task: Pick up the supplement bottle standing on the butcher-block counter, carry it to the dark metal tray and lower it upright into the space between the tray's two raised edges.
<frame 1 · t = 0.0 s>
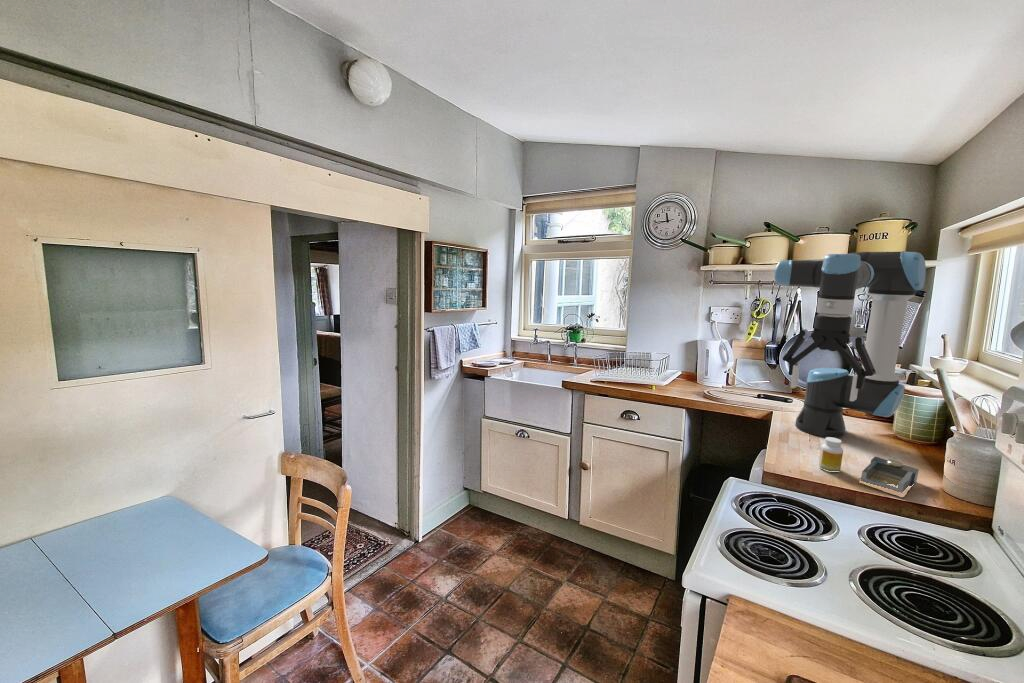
hand: (822, 393, 116), 28 cm above the table, fingers open, 13 cm apart
tray: (887, 482, 125), on the table
supplement bottle: (828, 469, 133), on the table
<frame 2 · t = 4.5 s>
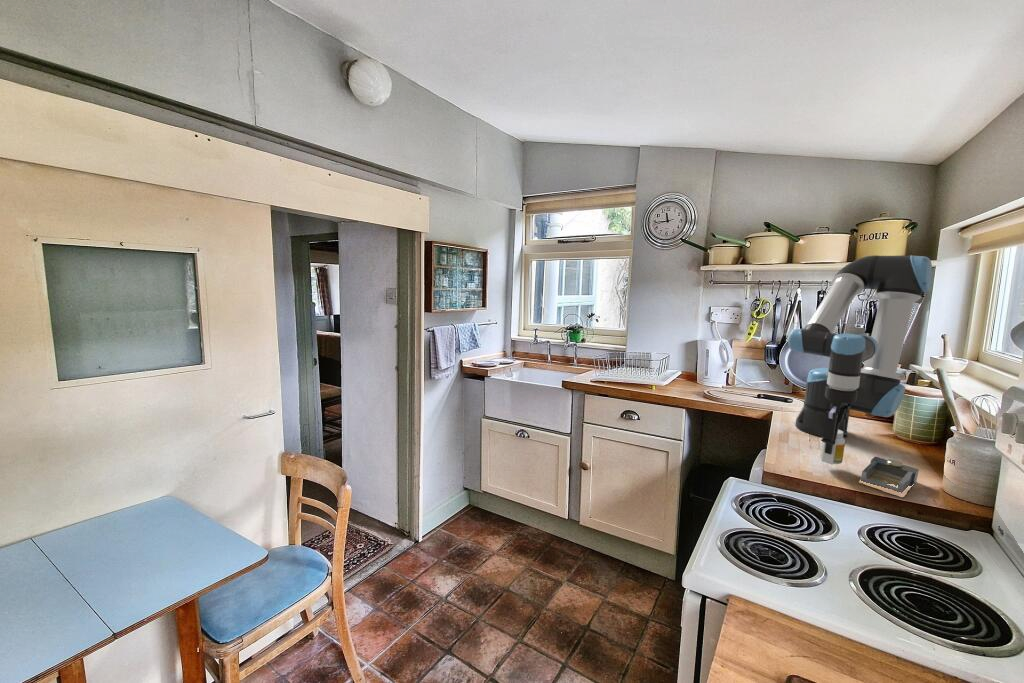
hand: (831, 459, 132), 3 cm above the table, fingers closed on supplement bottle, 5 cm apart
supplement bottle: (831, 460, 133), point 3 cm above the table, touching gripper
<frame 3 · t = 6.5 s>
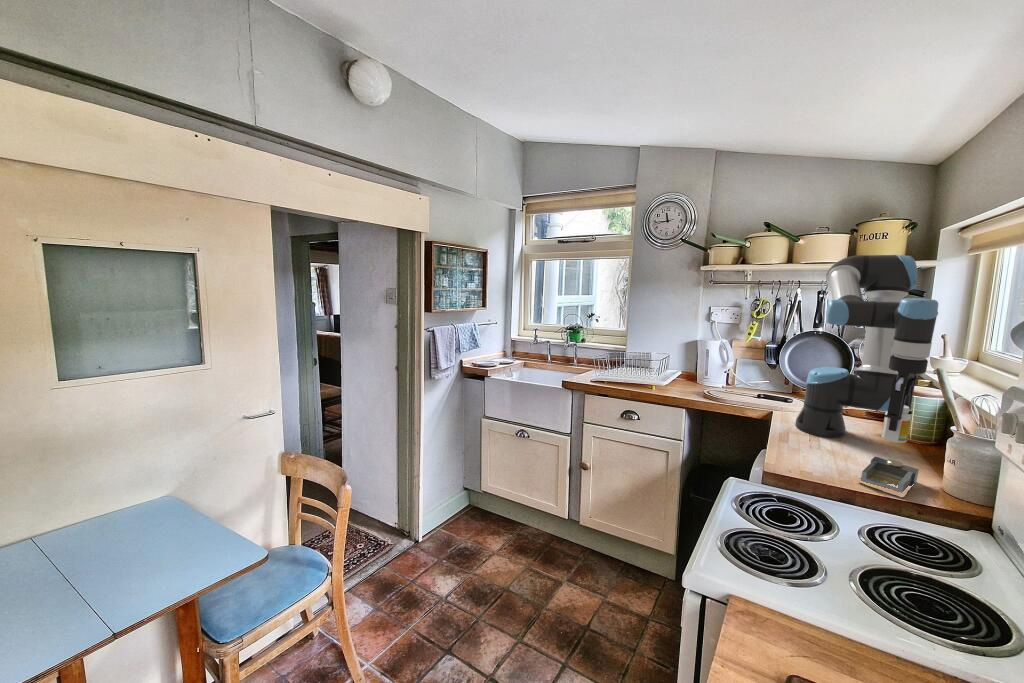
hand: (894, 438, 120), 14 cm above the table, fingers closed on supplement bottle, 5 cm apart
supplement bottle: (893, 439, 121), point 14 cm above the table, touching gripper
when the fingers open (2 cm above the table, at t = 8.9 s): supplement bottle stays where it is, resting on tray.
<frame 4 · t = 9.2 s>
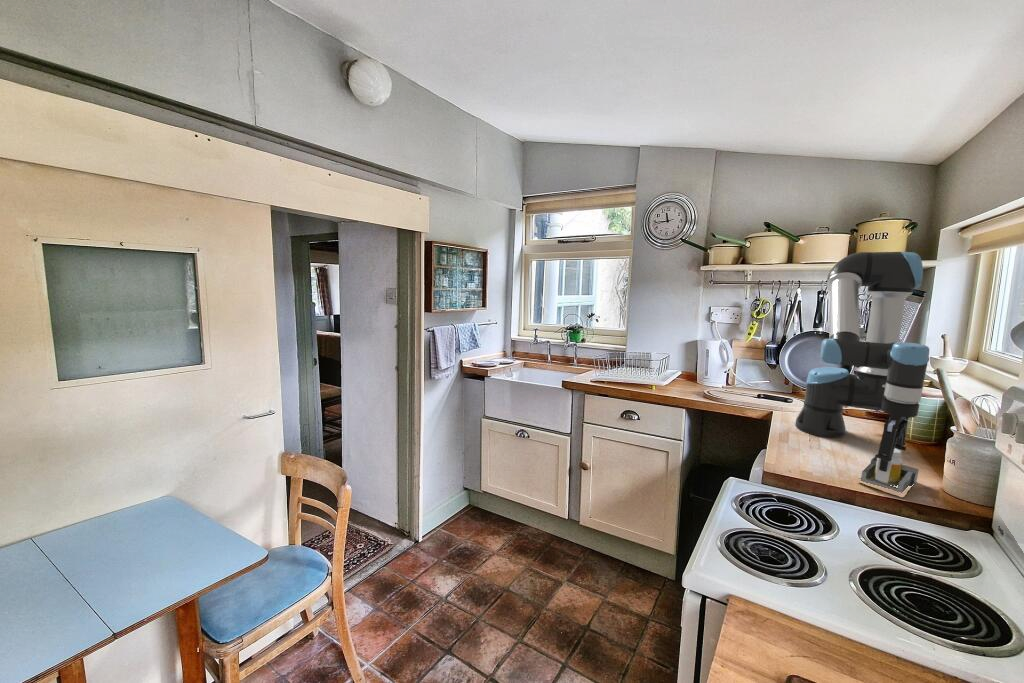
hand: (886, 475, 123), 3 cm above the table, fingers open, 9 cm apart
supplement bottle: (885, 481, 124), point 1 cm above the table, touching tray
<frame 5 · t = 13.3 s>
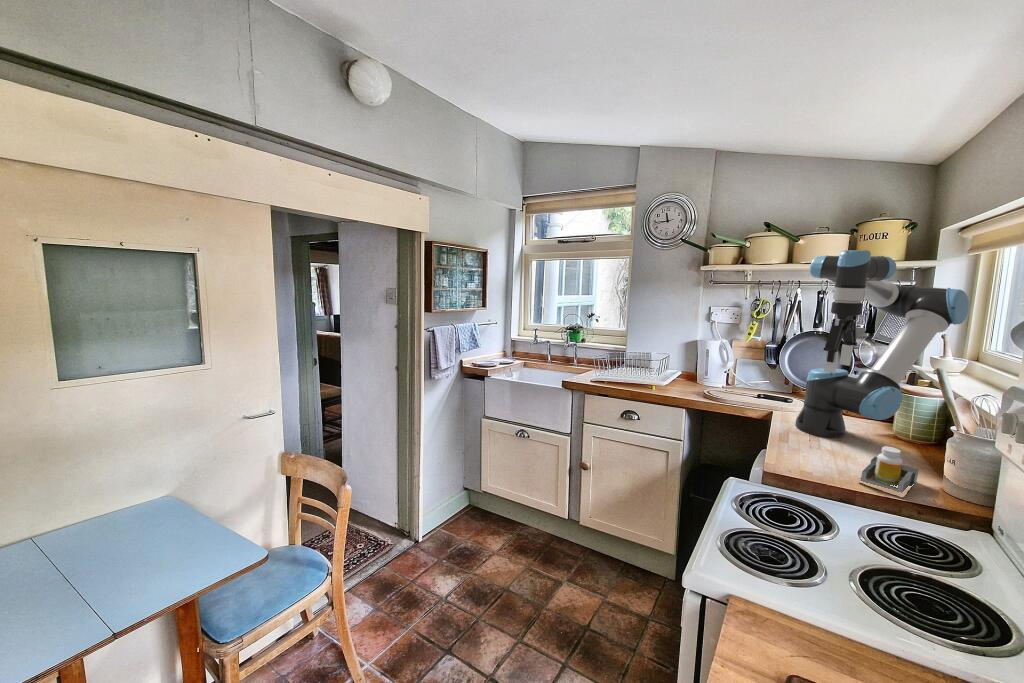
hand: (837, 368, 138), 29 cm above the table, fingers open, 13 cm apart
nothing on the table moved.
at the end: supplement bottle inside the target area on the tray (0.6 cm from its centre), point 0.9 cm above the tray's base; supplement bottle tilted 0°; the gripper is holding nothing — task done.
